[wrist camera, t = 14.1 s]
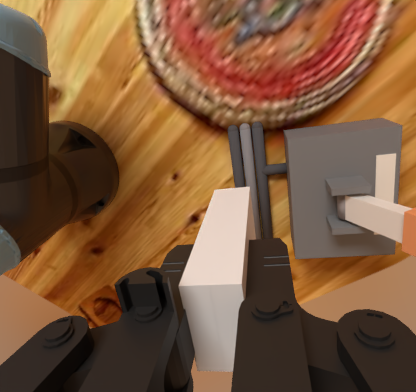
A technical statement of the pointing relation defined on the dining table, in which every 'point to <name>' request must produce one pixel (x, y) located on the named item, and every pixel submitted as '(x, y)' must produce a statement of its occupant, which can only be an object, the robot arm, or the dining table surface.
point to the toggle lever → (380, 218)
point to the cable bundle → (249, 169)
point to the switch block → (340, 184)
